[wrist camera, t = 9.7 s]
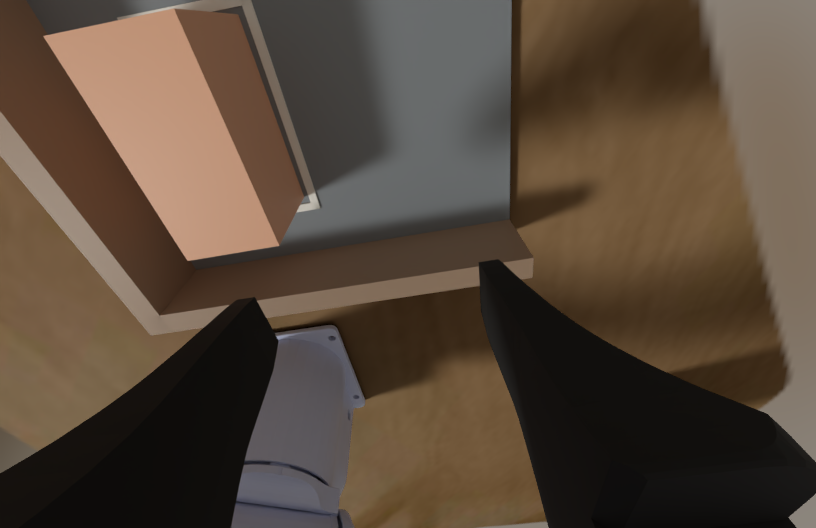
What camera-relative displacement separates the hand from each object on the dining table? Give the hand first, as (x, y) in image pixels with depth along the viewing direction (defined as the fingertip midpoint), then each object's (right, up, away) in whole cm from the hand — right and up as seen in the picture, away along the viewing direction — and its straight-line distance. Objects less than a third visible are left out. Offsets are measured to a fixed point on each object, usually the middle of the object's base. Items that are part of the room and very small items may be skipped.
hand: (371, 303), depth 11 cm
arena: (-4, +8, +6) cm, 11 cm away
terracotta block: (-7, +8, +5) cm, 12 cm away
